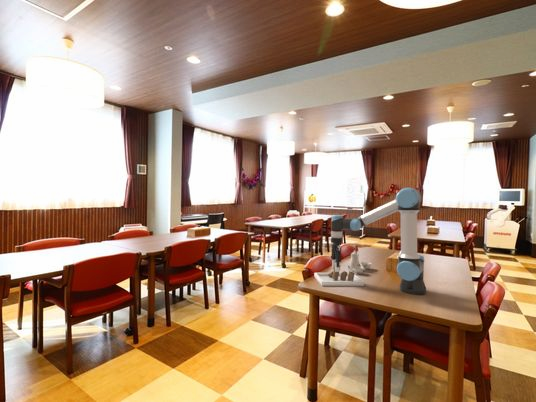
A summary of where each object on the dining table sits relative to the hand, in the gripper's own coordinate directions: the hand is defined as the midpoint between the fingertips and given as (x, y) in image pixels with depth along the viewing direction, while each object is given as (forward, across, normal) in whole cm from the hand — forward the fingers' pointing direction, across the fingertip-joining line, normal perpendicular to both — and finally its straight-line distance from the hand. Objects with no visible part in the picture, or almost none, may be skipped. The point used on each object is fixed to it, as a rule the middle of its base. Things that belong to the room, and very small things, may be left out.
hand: (335, 270), depth 189 cm
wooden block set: (+7, +2, +2) cm, 7 cm away
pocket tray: (+7, +1, +2) cm, 8 cm away
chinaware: (+8, -25, +27) cm, 38 cm away
